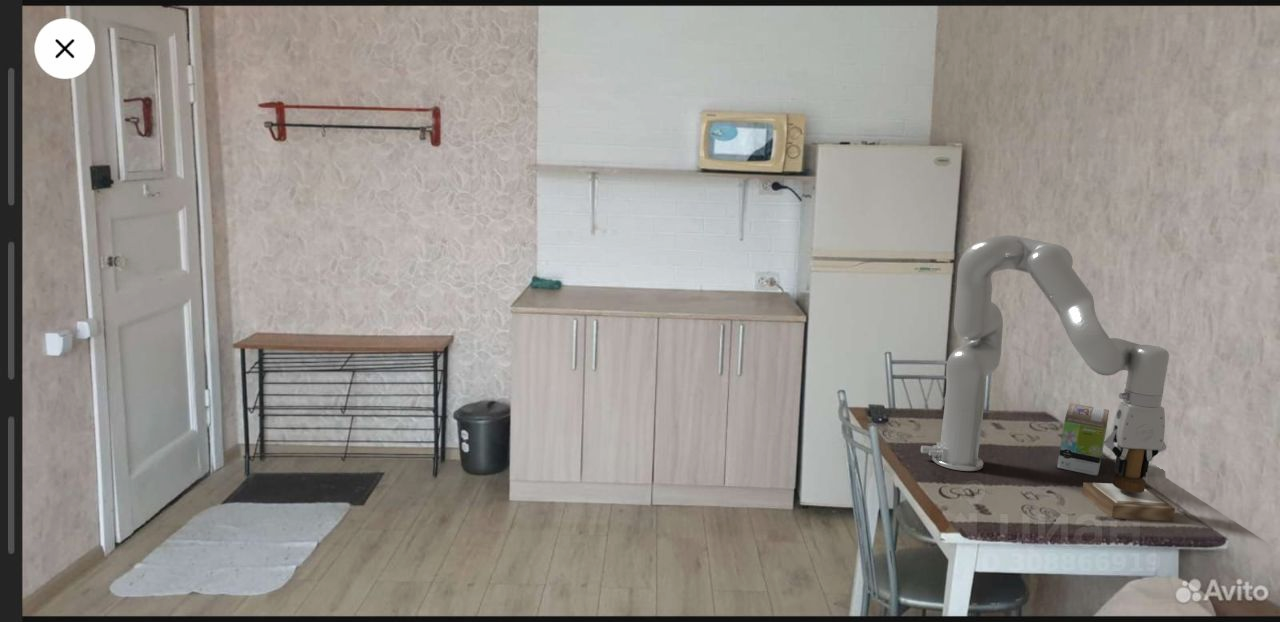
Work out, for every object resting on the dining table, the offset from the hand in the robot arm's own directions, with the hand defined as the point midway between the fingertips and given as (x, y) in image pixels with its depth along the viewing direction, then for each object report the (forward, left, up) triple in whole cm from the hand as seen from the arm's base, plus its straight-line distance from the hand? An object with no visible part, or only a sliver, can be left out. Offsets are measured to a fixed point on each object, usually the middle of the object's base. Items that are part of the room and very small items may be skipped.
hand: (1130, 474), depth 207 cm
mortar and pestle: (0, 0, -3) cm, 4 cm away
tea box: (+3, +29, -8) cm, 30 cm away
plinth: (0, 0, -8) cm, 8 cm away
